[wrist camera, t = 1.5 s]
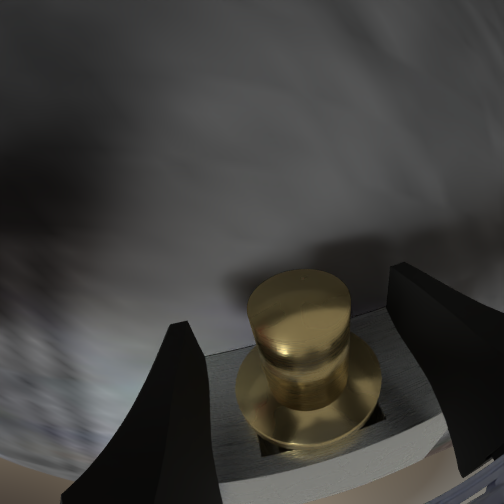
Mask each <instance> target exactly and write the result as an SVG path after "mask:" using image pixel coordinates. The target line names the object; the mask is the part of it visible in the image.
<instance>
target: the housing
mask: <svg viewBox="0 0 504 504" xmlns="http://www.w3.org/2000/svg"><path fill="white" fill-rule="evenodd" d="M350 332H352V333H354V334H356V335H357V336H359V337H360V338H361V339H363V340H364V341H365V342H366V343H367V344H368V345H369V346H370V347H371V349H372V350H373V352H374V353H375V355H376V357H377V359H378V361H379V364H380V368H381V375H382V381H381V389H380V393H379V397H378V401H377V404H376V407H375V409H374V411H373V413H372V415H371V416H370V418H369V419H368V421H367V422H366V423H365V424H364V425H363V426H362V427H361V428H360V429H359V430H358V431H357V432H356V433H355V434H353V435H352V436H350V437H349V438H347V439H346V440H344V441H342V442H340V443H338V444H335V445H332V446H330V447H326V448H322V449H316V450H291V451H287V452H283V453H280V451H279V449H278V446H277V445H275V444H272V443H270V442H268V441H267V440H265V439H263V438H262V437H260V436H259V435H258V434H257V433H256V432H255V431H254V430H253V429H252V428H251V427H250V426H249V424H248V423H247V421H246V420H245V418H244V416H243V414H242V412H241V410H240V408H239V405H238V403H237V399H236V392H235V384H236V377H237V373H238V371H239V368H240V366H241V364H242V362H243V360H244V359H245V357H246V356H247V355H248V353H249V352H250V351H251V350H252V349H253V348H254V347H255V346H256V345H255V346H251V347H247V348H243V349H238V350H234V351H230V352H225V353H221V354H216V355H212V356H207V357H205V358H206V365H207V372H208V379H209V390H210V419H211V441H212V450H213V456H214V462H215V468H216V473H217V478H218V483H219V488H220V493H221V497H222V501H223V504H302V503H306V502H310V501H314V500H317V499H321V498H324V497H328V496H331V495H334V494H338V493H341V492H344V491H347V490H350V489H352V488H355V487H358V486H361V485H364V484H367V483H369V482H372V481H375V480H377V479H380V478H382V477H384V476H387V475H389V474H392V473H394V472H396V471H399V470H401V469H403V468H405V467H407V466H410V465H412V464H414V463H416V462H418V461H420V460H422V459H423V458H424V457H425V456H426V455H427V454H428V452H429V451H430V450H431V449H432V448H433V446H434V445H435V444H436V443H437V442H438V440H439V439H440V438H441V436H442V435H443V434H444V433H445V431H446V430H447V429H448V427H447V424H446V421H445V418H444V416H443V413H442V410H441V408H440V405H439V403H438V400H437V398H436V396H435V394H434V391H433V389H432V387H431V385H430V383H429V381H428V379H427V377H426V376H425V374H424V372H423V371H422V369H421V367H420V366H419V364H418V363H417V361H416V360H415V358H414V356H413V355H412V353H411V352H410V350H409V349H408V347H407V346H406V344H405V342H404V341H403V339H402V338H401V336H400V335H399V333H398V332H397V330H396V328H395V326H394V324H393V322H392V320H391V318H390V316H389V314H388V311H387V309H386V307H384V308H381V309H378V310H375V311H372V312H369V313H366V314H363V315H360V316H357V317H354V318H351V319H350Z"/></svg>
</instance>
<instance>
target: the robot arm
mask: <svg viewBox="0 0 504 504" xmlns="http://www.w3.org/2000/svg"><path fill="white" fill-rule="evenodd" d="M386 309H387V311H388V314H389V316H390V318H391V320H392V322H393V324H394V326H395V328H396V330H397V332H398V333H399V335H400V336H401V338H402V339H403V341H404V342H405V344H406V346H407V347H408V349H409V350H410V352H411V353H412V355H413V356H414V358H415V360H416V361H417V363H418V364H419V366H420V367H421V369H422V371H423V372H424V374H425V376H426V377H427V379H428V381H429V383H430V385H431V387H432V389H433V391H434V394H435V396H436V398H437V400H438V403H439V405H440V408H441V410H442V413H443V416H444V418H445V421H446V424H447V427H448V430H449V433H450V436H451V440H452V443H453V447H454V451H455V455H456V459H457V464H458V469H459V472H460V474H461V476H462V477H463V478H464V477H466V476H467V475H469V474H470V473H472V472H473V471H475V470H477V469H478V468H480V467H481V466H483V465H484V464H485V463H487V462H488V461H490V460H491V459H494V462H492V463H491V464H490V465H488V466H487V467H485V468H484V469H482V470H481V471H479V472H478V473H476V474H475V475H474V476H472V477H470V478H469V479H467V480H466V481H464V482H462V483H461V484H459V485H458V486H456V487H454V488H452V489H451V490H449V491H447V492H445V493H444V494H442V495H440V496H438V497H436V498H435V499H433V500H431V501H429V502H427V503H425V504H460V503H461V502H463V501H465V500H466V499H468V498H469V497H471V496H472V495H474V494H475V493H477V492H478V491H480V490H481V489H483V488H484V487H486V486H487V485H488V486H487V488H486V492H485V493H484V494H482V495H481V496H479V497H477V498H476V499H474V500H472V501H470V502H469V503H467V504H504V313H502V312H500V311H497V310H495V309H493V308H490V307H488V306H486V305H484V304H481V303H479V302H477V301H475V300H473V299H471V298H469V297H467V296H465V295H463V294H462V293H460V292H458V291H456V290H454V289H452V288H450V287H449V286H447V285H445V284H443V283H442V282H440V281H438V280H436V279H434V278H433V277H431V276H429V275H427V274H426V273H424V272H422V271H420V270H419V269H417V268H415V267H413V266H411V265H409V264H407V263H405V262H403V263H400V264H397V265H394V266H390V275H389V286H388V295H387V304H386ZM60 504H223V501H222V497H221V493H220V488H219V483H218V478H217V473H216V468H215V462H214V456H213V450H212V441H211V419H210V390H209V379H208V372H207V365H206V358H205V356H204V354H203V352H202V350H201V348H200V346H199V344H198V342H197V340H196V338H195V336H194V334H193V332H192V329H191V327H190V325H189V323H188V321H184V322H179V323H174V324H170V326H169V327H168V330H167V332H166V335H165V337H164V340H163V342H162V345H161V347H160V349H159V352H158V354H157V356H156V359H155V361H154V363H153V365H152V368H151V370H150V372H149V374H148V377H147V379H146V381H145V383H144V385H143V387H142V389H141V391H140V393H139V395H138V396H137V398H136V400H135V402H134V404H133V406H132V408H131V409H130V411H129V413H128V414H127V416H126V418H125V419H124V421H123V423H122V424H121V426H120V427H119V429H118V430H117V432H116V433H115V435H114V436H113V437H112V439H111V440H110V442H109V443H108V444H107V446H106V447H105V448H104V450H103V451H102V452H101V453H100V455H99V456H98V457H97V458H96V459H95V461H94V462H93V463H92V464H91V465H90V467H89V468H88V469H87V470H86V471H85V472H84V473H83V474H82V475H81V476H80V477H79V478H78V479H77V480H76V481H75V482H74V483H73V484H72V485H71V486H70V487H69V488H68V489H67V490H66V491H65V492H64V493H62V494H61V501H60Z"/></svg>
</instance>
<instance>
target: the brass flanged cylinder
mask: <svg viewBox="0 0 504 504" xmlns="http://www.w3.org/2000/svg"><path fill="white" fill-rule="evenodd" d="M247 314H248V318H249V321H250V325H251V328H252V331H253V335H254V338H255V342H256V346H255V347H254V348H253V349H252V350H251V351H250V352H249V353H248V355H247V356H246V357H245V359H244V360H243V362H242V364H241V366H240V368H239V371H238V373H237V377H236V384H235V392H236V399H237V403H238V405H239V408H240V410H241V412H242V414H243V416H244V418H245V420H246V421H247V423H248V424H249V426H250V427H251V428H252V429H253V430H254V431H255V432H256V433H257V434H258V435H259V436H260V437H262V438H263V439H265V440H267V441H268V442H270V443H272V444H275V445H277V446H278V449H279V451H280V453H283V452H287V451H291V450H316V449H322V448H326V447H330V446H332V445H335V444H338V443H340V442H342V441H344V440H346V439H347V438H349V437H350V436H352V435H353V434H355V433H356V432H357V431H358V430H359V429H360V428H361V427H362V426H363V425H364V424H365V423H366V422H367V421H368V419H369V418H370V416H371V415H372V413H373V411H374V409H375V407H376V404H377V401H378V397H379V393H380V389H381V381H382V375H381V368H380V364H379V361H378V359H377V357H376V355H375V353H374V352H373V350H372V349H371V347H370V346H369V345H368V344H367V343H366V342H365V341H364V340H363V339H361V338H360V337H359V336H357V335H356V334H354V333H352V332H350V316H351V298H350V293H349V290H348V288H347V287H346V285H345V284H344V283H343V282H342V281H341V280H340V279H339V278H337V277H336V276H334V275H332V274H330V273H327V272H324V271H320V270H314V269H297V270H291V271H286V272H283V273H280V274H277V275H275V276H273V277H271V278H269V279H267V280H266V281H264V282H263V283H261V284H260V285H259V286H258V287H257V288H256V289H255V290H254V291H253V293H252V294H251V296H250V298H249V300H248V304H247Z"/></svg>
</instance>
